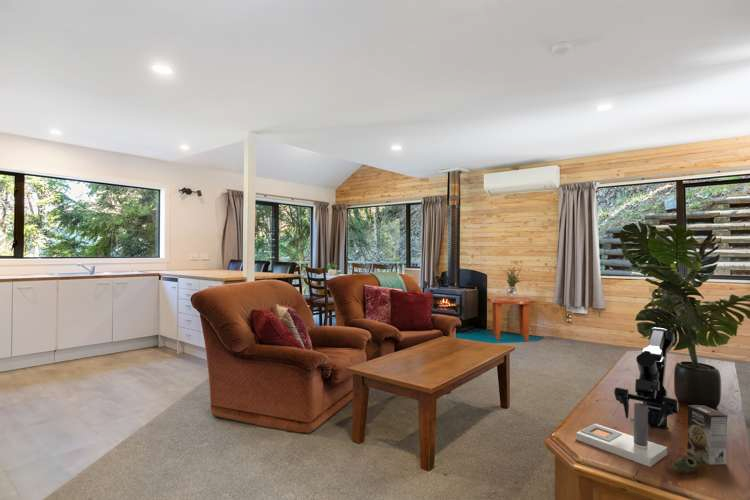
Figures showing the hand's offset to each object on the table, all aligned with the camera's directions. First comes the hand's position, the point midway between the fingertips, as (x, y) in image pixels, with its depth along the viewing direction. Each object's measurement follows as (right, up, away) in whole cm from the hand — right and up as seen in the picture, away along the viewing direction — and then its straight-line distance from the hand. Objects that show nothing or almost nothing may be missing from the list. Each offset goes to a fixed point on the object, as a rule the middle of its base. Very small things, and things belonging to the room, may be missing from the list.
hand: (642, 421), depth 145 cm
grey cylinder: (-1, -8, -2) cm, 8 cm away
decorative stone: (+6, -11, -13) cm, 18 cm away
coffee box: (+19, -11, -4) cm, 22 cm away
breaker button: (-9, -10, +9) cm, 16 cm away
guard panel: (-6, -10, +3) cm, 12 cm away
